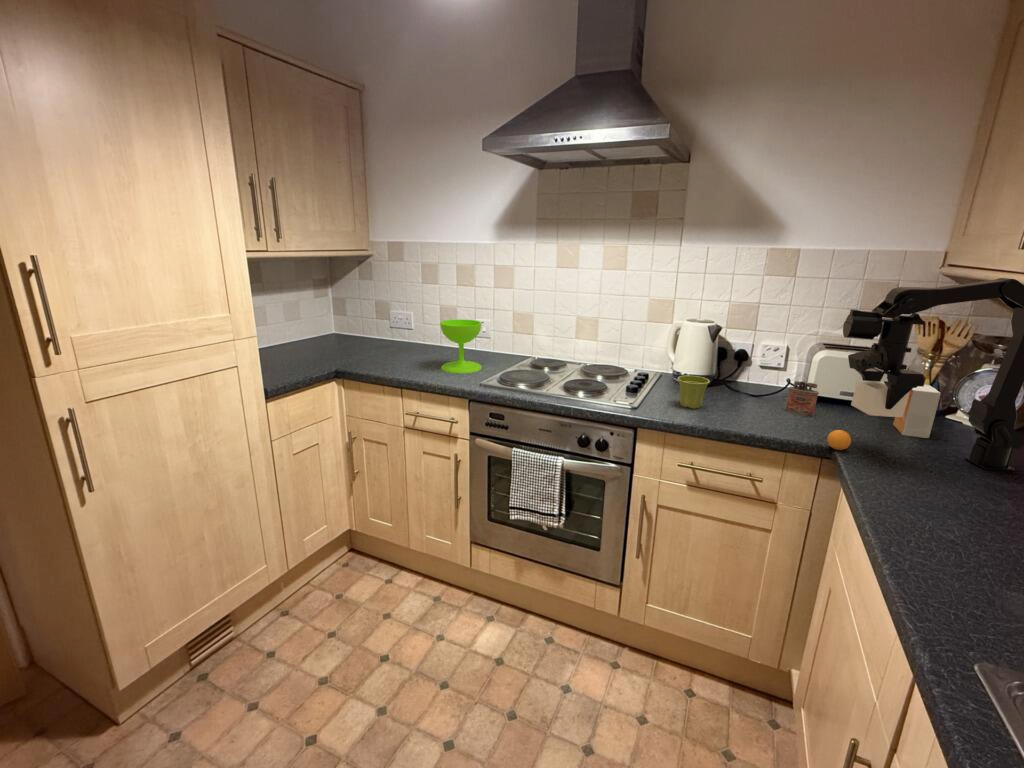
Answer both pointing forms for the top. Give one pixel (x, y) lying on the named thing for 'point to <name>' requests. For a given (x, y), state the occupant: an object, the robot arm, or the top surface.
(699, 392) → the plant pot
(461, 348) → the wineglass
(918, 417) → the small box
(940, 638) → the top surface
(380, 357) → the top surface
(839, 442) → the ball
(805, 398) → the lighter
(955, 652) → the top surface
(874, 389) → the cream cube
